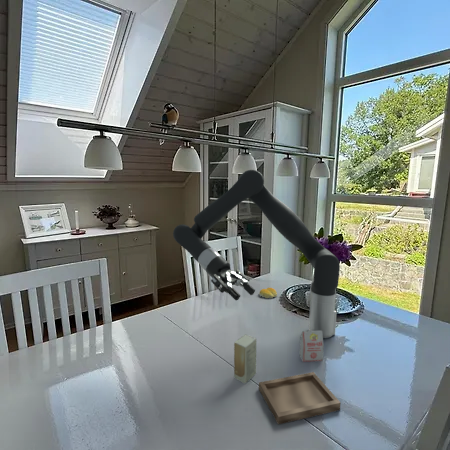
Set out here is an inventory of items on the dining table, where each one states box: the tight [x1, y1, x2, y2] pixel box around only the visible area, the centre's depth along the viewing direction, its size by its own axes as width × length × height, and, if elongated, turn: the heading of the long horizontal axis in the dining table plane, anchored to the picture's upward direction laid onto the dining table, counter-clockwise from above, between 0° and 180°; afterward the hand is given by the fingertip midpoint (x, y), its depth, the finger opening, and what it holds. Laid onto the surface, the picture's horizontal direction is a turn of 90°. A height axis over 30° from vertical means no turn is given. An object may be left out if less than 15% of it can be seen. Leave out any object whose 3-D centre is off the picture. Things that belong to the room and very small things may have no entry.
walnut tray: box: [258, 371, 341, 425], centre depth 83 cm, size 18×13×2 cm
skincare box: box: [233, 334, 257, 384], centre depth 91 cm, size 6×4×12 cm
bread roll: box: [258, 287, 278, 299], centre depth 155 cm, size 8×9×4 cm
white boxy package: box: [299, 330, 324, 363], centre depth 101 cm, size 4×7×10 cm, turn 94°
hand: (246, 295), depth 95 cm, fingers open, 8 cm apart
